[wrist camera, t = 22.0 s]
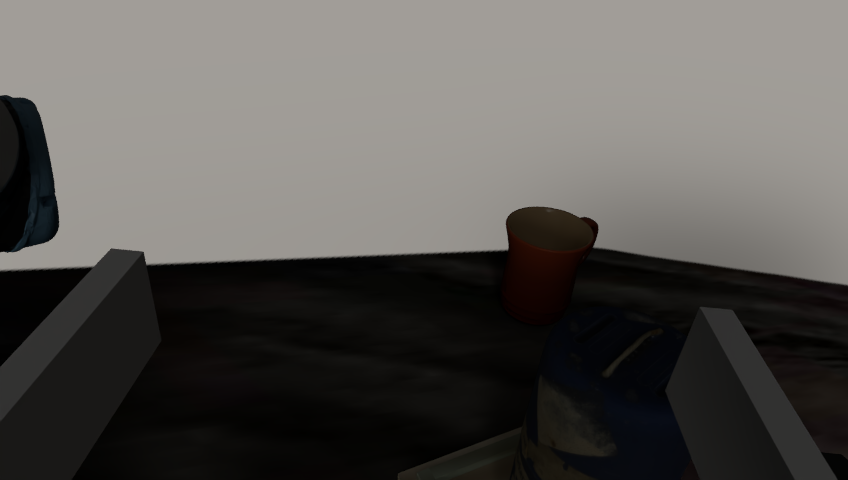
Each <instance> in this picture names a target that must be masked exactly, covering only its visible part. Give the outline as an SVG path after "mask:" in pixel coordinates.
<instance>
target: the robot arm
mask: <svg viewBox="0 0 848 480" xmlns="http://www.w3.org/2000/svg"><path fill="white" fill-rule="evenodd" d="M58 228H59V215H58V206H57V201H56V196H55V188H54V178H53V172H52V167H51V161H50V156H49V152H48V147H47V142H46V138H45V133H44V129H43V125H42V121H41V117H40V115H39V112H38V111H37V108H36V106H35V104H34V103H33V102H32V101H31V100H28V99H26V98H12V97H10V96H7V95H3V96H0V252H7V253H8V252H17V251H19V250H21V249H22V248H25V247H29V246H33V245H37V244H42V243H45V242H48V241H49V240H51V239H52V238H53V237H54V236H55V235H56V233H57V231H58ZM160 342H161V337H160V332H159V327H158V322H157V317H156V312H155V307H154V302H153V297H152V292H151V287H150V282H149V277H148V272H147V267H146V262H145V257H144V252H140V251H130V250H119V249H110V251H108V253H107V254H106V255H105V256H104V257H103V258H102V259H101V260H100V261H99V262H98V263H97V264H96V265H95V266H94V267H93V269H92V270H91V271H90V272H89V273H88V274H87V275H86V276H85V277H84V278H83V279H82V280H81V281H80V282H79V283H78V285H77V286H76V287H75V288H74V289H73V290H72V291H71V292H70V293H69V294H68V295H67V296H66V297H65V298H64V299H63V301H62V302H61V303H60V304H59V305H58V306H57V307H56V308H55V309H54V310H53V311H52V312H51V313H50V314H49V315H48V317H47V318H46V319H45V320H44V321H43V322H42V323H41V324H40V325H39V326H38V327H37V328H36V329H35V330H34V331H33V333H32V334H31V335H30V336H29V337H28V338H27V339H26V340H25V341H24V342H23V343H22V344H21V345H20V346H19V347H18V349H17V350H16V351H15V352H14V353H13V354H12V355H11V356H10V357H9V358H8V359H7V360H6V361H5V362H4V364H3V365H2V366H1V367H0V480H72V478H73V477H74V475H75V474H76V472H77V470H78V469H79V467H80V466H81V464H82V463H83V461H84V460H85V458H86V456H87V455H88V453H89V452H90V450H91V449H92V447H93V446H94V444H95V443H96V441H97V439H98V438H99V436H100V435H101V433H102V432H103V430H104V429H105V427H106V425H107V424H108V422H109V421H110V419H111V418H112V416H113V415H114V413H115V412H116V410H117V408H118V407H119V405H120V404H121V402H122V401H123V399H124V398H125V396H126V394H127V393H128V391H129V390H130V388H131V387H132V385H133V384H134V382H135V381H136V379H137V377H138V376H139V374H140V373H141V371H142V370H143V368H144V367H145V365H146V363H147V362H148V360H149V359H150V357H151V356H152V354H153V353H154V351H155V349H156V348H157V346H158V345H159V343H160ZM665 392H666V394H667V397H668V399H669V402H670V404H671V407H672V409H673V412H674V415H675V417H676V420H677V422H678V425H679V427H680V430H681V432H682V435H683V437H684V440H685V443H686V445H687V448H688V450H689V453H690V455H691V458H692V460H693V463H694V465H695V468H696V471H697V473H698V476H699V478H700V480H848V460H847V459H846V458H845V457H844V456H843V455H842V454H832V453H822V452H820V451H819V449H818V447H817V446H816V444H815V442H814V441H813V439H812V438H811V436H810V434H809V433H808V431H807V430H806V428H805V426H804V425H803V423H802V421H801V420H800V418H799V417H798V415H797V413H796V412H795V410H794V409H793V407H792V405H791V404H790V402H789V400H788V399H787V397H786V396H785V394H784V392H783V391H782V389H781V388H780V386H779V384H778V383H777V381H776V380H775V378H774V376H773V375H772V373H771V371H770V370H769V368H768V367H767V365H766V363H765V362H764V360H763V359H762V357H761V355H760V354H759V352H758V350H757V349H756V347H755V346H754V344H753V342H752V341H751V339H750V338H749V336H748V334H747V333H746V331H745V329H744V328H743V326H742V325H741V323H740V321H739V320H738V318H737V317H736V315H735V313H734V312H733V310H726V309H716V308H706V307H700V308H699V310H698V313H697V315H696V318H695V320H694V322H693V325H692V327H691V330H690V332H689V334H688V337H687V339H686V342H685V344H684V346H683V349H682V351H681V354H680V356H679V358H678V361H677V363H676V366H675V368H674V370H673V373H672V375H671V378H670V380H669V382H668V385H667V387H666V390H665Z"/></svg>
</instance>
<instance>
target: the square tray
mask: <svg viewBox="0 0 848 480" xmlns="http://www.w3.org/2000/svg"><path fill="white" fill-rule="evenodd" d="M521 429H522V427H520V428H517V429H514V430H512V431H509V432H506V433H504V434H501V435H498V436H496V437H493V438H490V439H488V440H485V441H483V442H480V443H477V444H475V445H472V446H469V447H467V448H464V449H461V450H459V451H456V452H453V453H451V454H448V455H445V456H443V457H440V458H438V459H435V460H432V461H430V462H427V463H424V464H422V465H419V466H416V467H414V468H411V469H408V470H406V471H403V472H400V473H398V480H509V479H510V475H511V471H512V467H513V463H514V458H515V453H516V448H517V445H518V441H519V438H520V434H521Z"/></svg>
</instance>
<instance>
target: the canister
mask: <svg viewBox="0 0 848 480" xmlns="http://www.w3.org/2000/svg"><path fill="white" fill-rule="evenodd" d="M686 339H687V337H686V336H685V335H684V334H682V333H681V332H680V331H678V330H677V329H675V328H674V327H672V326H671V325H669V324H667V323H665V322H663V321H661V320H659V319H657V318H655V317H653V316H650V315H647V314H645V313H641V312H638V311H634V310H630V309H625V308H618V307H608V306H603V307H590V308H585V309H582V310H579V311H576V312H573V313H571V314H569V315H567V316H566V317H564V318H563V319H562V320H560V321H559V322H558V323H557V324H556V325H555V326H554V328H553V329H552V331H551V332H550V334H549V336H548V338H547V340H546V343H545V347H544V350H543V353H542V357H541V360H540V364H539V367H538V371H537V375H536V379H535V383H534V387H533V391H532V394H531V398H530V401H529V405H528V408H527V411H526V414H525V418H524V421H523V425H522V429H521V434H520V438H519V441H518V445H517V448H516V453H515V458H514V463H513V467H512V471H511V475H510V479H509V480H680V479H681V477H682V475H683V473H684V471H685V469H686V467H687V465H688V463H689V461H690V459H691V455H690V453H689V450H688V448H687V445H686V443H685V440H684V437H683V435H682V432H681V430H680V427H679V425H678V422H677V420H676V417H675V415H674V412H673V409H672V407H671V404H670V402H669V399H668V397H667V394H666V392H665V390H666V387H667V385H668V382H669V380H670V378H671V375H672V373H673V370H674V368H675V366H676V363H677V361H678V358H679V356H680V354H681V351H682V349H683V346H684V344H685V342H686Z"/></svg>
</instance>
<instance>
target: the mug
mask: <svg viewBox="0 0 848 480" xmlns="http://www.w3.org/2000/svg"><path fill="white" fill-rule="evenodd" d="M506 228H507V235H508V243H509V249H508V255H507V260H506V264H505V268H504V273H503V278H502V282H501V292H500V294H501V303H502V306H503V308H504V309H505V311H506V312H507V313H508V314H509V315H511V316H512V317H513V318H515V319H517V320H518V321H520V322H523V323H526V324H530V325H549V324H552V323H555V322H557V321H559V320H560V319H561V318H562V317H563V315H564V313H565V311H566V309H567V307H568V305H569V304H570V302H571V296H572V292H573V288H574V284H575V280H576V275H577V270H578V267H579V266H580V265H581V264H582V263H583V262H584V261H585V259H586V258H587V257H588V255H589V253H590V252H591V250H592V248H593V246H594V243H595V241H596V237H597V234H598V224H597V223H596V222H595V221H594V220H592V219H590V218H587V217H582V218H579V217H577V216H575V215H573V214H571V213H569V212H566V211H562V210H559V209H554V208H548V207H527V208H522V209H518V210H516V211H514V212H512V213H511V214H510V215H509V216H508V218H507V220H506Z"/></svg>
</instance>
